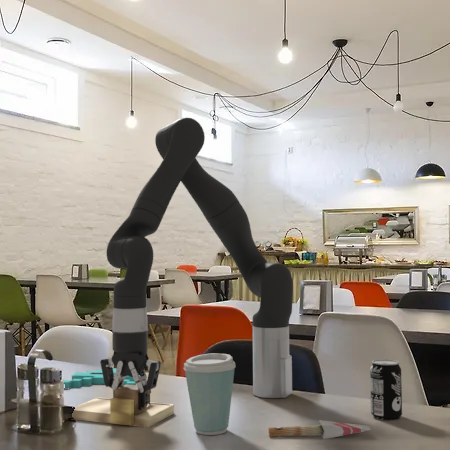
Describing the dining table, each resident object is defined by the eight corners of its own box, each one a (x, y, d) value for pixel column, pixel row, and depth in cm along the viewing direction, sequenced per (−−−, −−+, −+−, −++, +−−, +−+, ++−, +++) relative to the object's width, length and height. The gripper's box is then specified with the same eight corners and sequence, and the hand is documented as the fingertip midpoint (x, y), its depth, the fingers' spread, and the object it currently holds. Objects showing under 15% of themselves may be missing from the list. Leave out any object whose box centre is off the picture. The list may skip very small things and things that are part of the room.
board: (174, 413, 144) (174, 403, 144) (148, 427, 133) (148, 417, 133) (98, 405, 151) (98, 397, 151) (67, 418, 140) (67, 409, 140)
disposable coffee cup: (218, 441, 122) (217, 362, 123) (172, 433, 128) (172, 358, 129) (245, 428, 131) (245, 354, 132) (202, 421, 137) (202, 350, 138)
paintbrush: (372, 422, 124) (268, 428, 124) (372, 437, 124) (269, 442, 124) (367, 417, 128) (267, 422, 128) (368, 431, 128) (268, 436, 128)
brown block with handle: (159, 410, 144) (159, 380, 145) (131, 425, 133) (131, 392, 133) (139, 408, 146) (139, 379, 146) (110, 423, 134) (110, 390, 135)
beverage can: (403, 414, 141) (402, 359, 142) (401, 422, 135) (400, 365, 135) (372, 412, 143) (371, 358, 144) (369, 419, 137) (368, 363, 138)
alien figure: (134, 391, 168) (150, 376, 188) (134, 383, 168) (150, 368, 188) (60, 390, 170) (84, 375, 190) (60, 382, 170) (84, 368, 190)
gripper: (167, 327, 139) (168, 406, 138) (110, 325, 144) (110, 401, 144) (151, 332, 132) (151, 415, 131) (91, 329, 137) (92, 409, 137)
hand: (130, 407), depth 137 cm, fingers closed on brown block with handle, 5 cm apart
